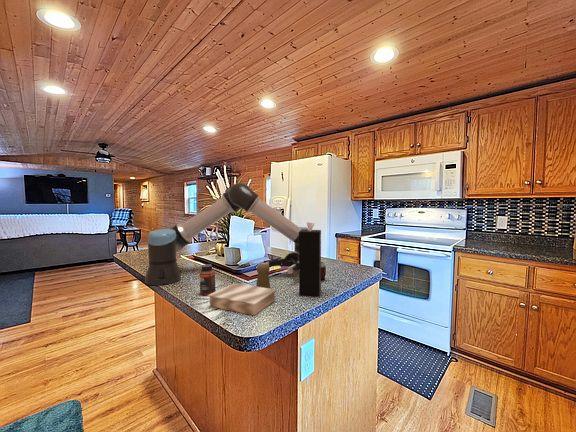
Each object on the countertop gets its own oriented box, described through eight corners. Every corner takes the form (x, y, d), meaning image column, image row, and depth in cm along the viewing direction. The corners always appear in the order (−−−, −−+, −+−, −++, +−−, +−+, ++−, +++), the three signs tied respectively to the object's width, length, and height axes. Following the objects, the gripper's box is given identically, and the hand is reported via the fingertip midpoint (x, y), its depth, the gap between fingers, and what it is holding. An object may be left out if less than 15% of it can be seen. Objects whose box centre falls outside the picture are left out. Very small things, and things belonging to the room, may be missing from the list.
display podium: (207, 306, 91) (207, 295, 91) (234, 293, 105) (234, 283, 105) (254, 316, 83) (254, 303, 83) (276, 300, 97) (276, 289, 97)
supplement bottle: (216, 290, 108) (215, 263, 108) (214, 295, 102) (214, 266, 102) (201, 291, 107) (200, 263, 107) (198, 296, 101) (198, 267, 101)
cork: (270, 293, 104) (270, 266, 103) (255, 294, 103) (255, 266, 103) (270, 288, 110) (270, 262, 109) (256, 289, 109) (255, 263, 109)
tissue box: (319, 297, 100) (319, 223, 98) (298, 295, 101) (298, 223, 100) (321, 290, 107) (321, 221, 106) (301, 289, 109) (301, 221, 108)
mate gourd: (326, 277, 125) (326, 246, 124) (325, 282, 117) (325, 249, 117) (310, 277, 127) (310, 246, 126) (308, 282, 119) (308, 249, 118)
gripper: (317, 269, 129) (301, 281, 110) (272, 264, 140) (250, 274, 121) (317, 254, 129) (301, 263, 110) (272, 250, 139) (250, 258, 120)
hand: (274, 269), depth 115 cm, fingers open, 13 cm apart
